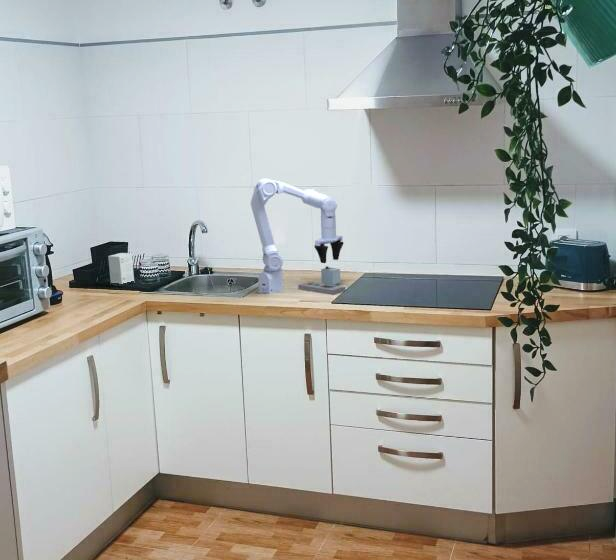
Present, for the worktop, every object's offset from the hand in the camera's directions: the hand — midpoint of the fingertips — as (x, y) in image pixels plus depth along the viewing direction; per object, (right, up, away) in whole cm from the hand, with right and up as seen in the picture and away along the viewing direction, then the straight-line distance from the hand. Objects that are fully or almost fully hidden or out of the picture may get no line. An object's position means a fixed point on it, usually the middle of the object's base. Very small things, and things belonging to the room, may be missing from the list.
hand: (329, 261), depth 319 cm
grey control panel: (-3, -12, -6) cm, 14 cm away
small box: (-87, -10, +22) cm, 90 cm away
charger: (+1, -10, +2) cm, 10 cm away
